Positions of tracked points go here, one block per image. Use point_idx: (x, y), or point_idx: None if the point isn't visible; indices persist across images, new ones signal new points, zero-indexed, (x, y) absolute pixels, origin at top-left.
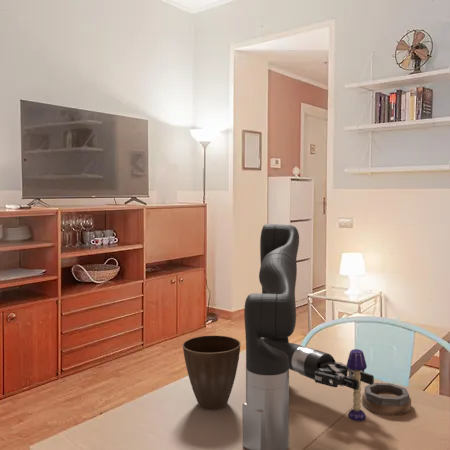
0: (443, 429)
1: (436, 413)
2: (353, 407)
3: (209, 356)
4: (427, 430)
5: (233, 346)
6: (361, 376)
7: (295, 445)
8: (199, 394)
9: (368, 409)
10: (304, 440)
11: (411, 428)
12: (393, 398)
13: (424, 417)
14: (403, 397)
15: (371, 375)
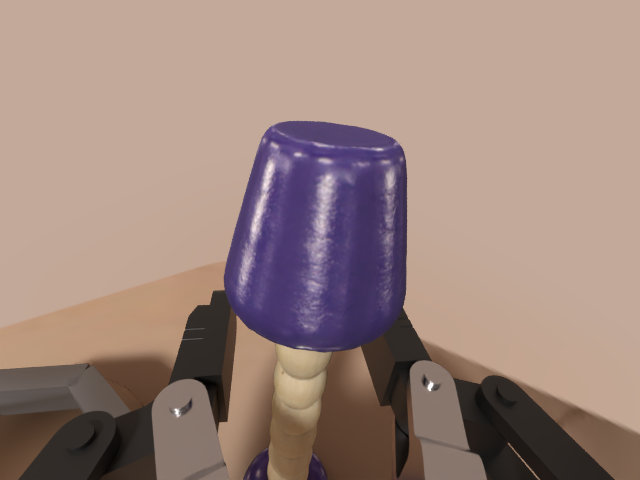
0: (148, 285)
1: (14, 342)
2: (307, 476)
3: None
4: (184, 299)
5: None
6: (227, 376)
7: (632, 430)
8: None
9: None
10: (596, 443)
11: None
12: (94, 383)
13: (83, 344)
14: (48, 367)
15: (223, 292)
